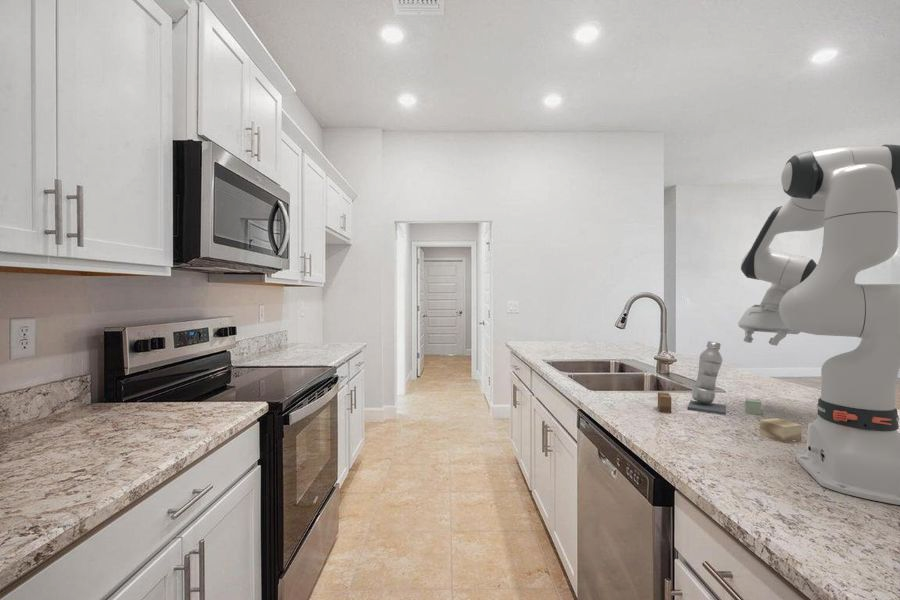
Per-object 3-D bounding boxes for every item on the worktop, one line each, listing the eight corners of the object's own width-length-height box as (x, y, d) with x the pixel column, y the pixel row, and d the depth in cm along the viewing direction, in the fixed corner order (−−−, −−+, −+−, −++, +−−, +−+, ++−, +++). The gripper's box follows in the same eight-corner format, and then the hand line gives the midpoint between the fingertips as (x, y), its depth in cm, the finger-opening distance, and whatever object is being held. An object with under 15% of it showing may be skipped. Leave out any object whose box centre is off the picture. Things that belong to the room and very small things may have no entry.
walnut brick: (671, 413, 128) (671, 397, 128) (660, 412, 129) (660, 396, 129) (668, 408, 134) (668, 392, 134) (657, 407, 135) (657, 392, 135)
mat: (725, 414, 127) (725, 412, 127) (687, 409, 132) (687, 406, 132) (725, 407, 135) (726, 404, 135) (690, 402, 140) (690, 400, 140)
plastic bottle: (713, 403, 137) (726, 344, 135) (712, 407, 132) (726, 345, 130) (691, 397, 141) (703, 339, 139) (689, 401, 135) (702, 340, 133)
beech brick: (801, 440, 105) (801, 425, 105) (783, 443, 104) (784, 427, 104) (776, 433, 111) (777, 418, 111) (759, 435, 109) (760, 420, 109)
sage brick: (761, 415, 126) (761, 402, 126) (745, 413, 129) (745, 400, 129) (760, 412, 130) (761, 399, 130) (745, 410, 132) (745, 397, 132)
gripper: (744, 300, 142) (725, 335, 141) (800, 299, 122) (780, 340, 121) (758, 309, 142) (740, 344, 142) (817, 310, 122) (797, 351, 121)
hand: (759, 343), depth 131 cm, fingers open, 8 cm apart
